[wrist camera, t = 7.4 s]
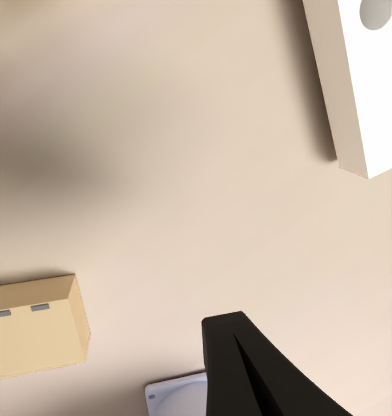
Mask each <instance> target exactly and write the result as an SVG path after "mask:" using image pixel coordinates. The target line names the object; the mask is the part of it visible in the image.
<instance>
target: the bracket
mask: <svg viewBox="0 0 392 416" xmlns="http://www.w3.org/2000/svg"><path fill="white" fill-rule="evenodd" d="M303 5H304V9H305V14H306V18H307V23H308V27H309V32H310V36H311V41H312V46H313V50H314V55H315V59H316V64H317V68H318V73H319V77H320V82H321V87H322V91H323V96H324V100H325V105H326V109H327V114H328V119H329V123H330V128H331V132H332V137H333V141H334V146H335V150H336V155H337V160H338V164H339V168H341V169H344V170H346V171H349V172H352V173H354V174H357V175H360V176H362V177H365V178H367V179H370V178H372V177H374V176H376V175H378V174H380V173H382V172H384V171H386V170H388V169H390V168H392V0H303Z"/></svg>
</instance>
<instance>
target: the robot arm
mask: <svg viewBox="0 0 392 416" xmlns="http://www.w3.org/2000/svg"><path fill="white" fill-rule="evenodd" d="M202 338H203V355H204V365H205V370H206V372H204V373H200V374H195V375H190V376H186V377H181V378H177V379H172V380H167V381H163V382H158V383H154V384H150V385H148V386H146V387H145V397H146V403H147V408H148V414H149V416H353V415H351V414H350V413H349V412H348V411H346V410H345V409H344V408H343V407H341V406H340V405H339V404H338V403H336V402H335V401H334V400H333V399H332V398H330V397H329V396H328V395H327V394H326V393H324V392H323V391H322V390H321V389H320V388H319V387H318V386H316V385H315V384H314V383H313V382H312V381H311V380H310V379H308V378H307V377H306V376H305V375H304V374H303V373H302V372H301V371H300V370H299V369H298V368H296V367H295V366H294V365H293V364H292V363H291V362H290V361H289V360H288V359H287V358H286V357H285V356H284V355H283V354H282V353H281V352H280V351H279V350H278V349H277V348H276V347H275V346H274V345H273V344H272V343H271V342H270V341H269V340H268V339H267V338H266V337H265V336H264V335H263V334H262V332H261V331H260V330H259V329H258V328H257V327H256V326H255V325H254V324H253V323H252V322H251V320H250V319H249V318H248V317H247V316H246V315H245V314H244V313H243V312H242V311H238V312H233V313H228V314H222V315H217V316H212V317H206V318H204V319H203V320H202Z"/></svg>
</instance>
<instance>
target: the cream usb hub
mask: <svg viewBox="0 0 392 416" xmlns="http://www.w3.org/2000/svg"><path fill="white" fill-rule="evenodd" d="M90 334H91V333H90V329H89V325H88V321H87V317H86V314H85V310H84V306H83V302H82V298H81V294H80V290H79V286H78V282H77V278H76V274H74V275H67V276H61V277H54V278H48V279H41V280H34V281H28V282H21V283H15V284H8V285H2V286H0V379H4V378H9V377H14V376H19V375H24V374H29V373H34V372H39V371H44V370H49V369H54V368H59V367H64V366H70V365H75V364H80V363H85V362H86V356H87V351H88V345H89V339H90Z"/></svg>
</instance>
